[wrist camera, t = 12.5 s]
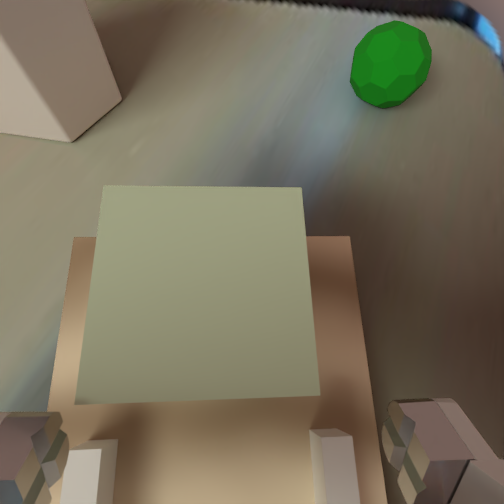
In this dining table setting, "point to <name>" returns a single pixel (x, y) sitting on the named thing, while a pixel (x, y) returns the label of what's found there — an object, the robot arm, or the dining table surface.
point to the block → (198, 297)
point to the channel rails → (105, 454)
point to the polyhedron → (390, 64)
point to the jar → (52, 70)
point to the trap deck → (231, 409)
